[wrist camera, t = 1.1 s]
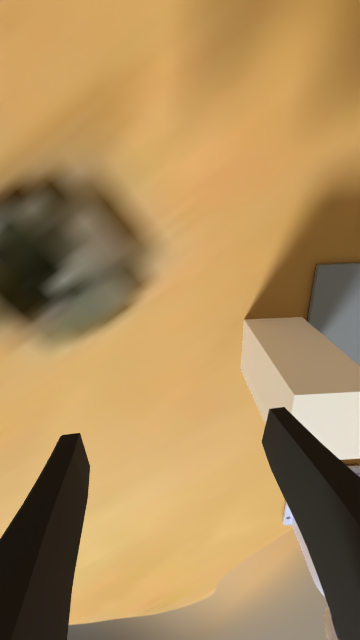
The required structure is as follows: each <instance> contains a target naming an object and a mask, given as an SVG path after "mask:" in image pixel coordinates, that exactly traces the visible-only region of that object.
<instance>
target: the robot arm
mask: <svg viewBox="0 0 360 640" xmlns="http://www.w3.org/2000/svg"><path fill="white" fill-rule="evenodd" d="M262 444H263V447H264V450H265V453H266V456H267V459H268V462H269V465H270V467H271V470H272V472H273V474H274V477H275V479H276V481H277V483H278V485H279V487H280V490H281V492H282V494H283V496H284V498H285V500H286V504H285V510H284V515H283V524H284V525H292V527H293V529H294V532H295V535H296V537H297V540H298V542H299V545H300V547H301V550H302V553H303V555H304V558H305V560H306V563H307V565H308V568H309V571H310V573H311V576H312V578H313V580H314V582H315V584H316V586H317V587H318V589H319V590H320V592H321V593H322V594H323V596H324V597H325V598H326V601H327V603H328V607H326V609H325V612H324V613H325V617H324V628H325V633H326V636H327V640H360V466H359V465H355V466H346V465H345V464H344V463H343V462H342V461H341V460H340V459H338V458H337V457H336V456H335V455H334V454H333V453H332V452H331V451H330V450H329V449H327V448H326V447H325V446H324V445H323V444H322V443H321V442H320V441H319V440H318V439H317V438H316V437H315V436H314V435H313V434H312V433H310V432H309V431H308V430H307V429H306V428H305V427H304V426H303V425H302V424H301V423H300V422H299V421H298V420H297V419H296V418H295V417H294V416H293V415H292V414H291V413H290V412H289V411H288V410H287V409H286V408H285V407H279V408H272V409H269V412H268V417H267V421H266V426H265V430H264V434H263V439H262ZM89 473H90V465H89V462H88V458H87V455H86V452H85V448H84V445H83V442H82V438H81V435H80V433H76V434H68V435H62V436H61V437H60V438H59V440H58V442H57V444H56V446H55V448H54V450H53V452H52V454H51V456H50V458H49V460H48V461H47V463H46V465H45V467H44V469H43V470H42V472H41V474H40V476H39V478H38V479H37V481H36V483H35V484H34V486H33V488H32V489H31V491H30V493H29V495H28V496H27V498H26V500H25V501H24V503H23V505H22V506H21V508H20V509H19V511H18V512H17V514H16V516H15V517H14V519H13V520H12V522H11V523H10V525H9V526H8V528H7V529H6V531H5V533H4V534H3V536H2V537H1V539H0V640H67V633H68V623H69V613H70V603H71V593H72V586H73V579H74V572H75V567H76V561H77V555H78V550H79V544H80V538H81V533H82V527H83V521H84V516H85V510H86V504H87V498H88V487H89Z"/></svg>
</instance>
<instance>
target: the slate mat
mask: <svg viewBox="0 0 360 640" xmlns="http://www.w3.org/2000/svg"><path fill="white" fill-rule="evenodd" d="M307 322H308V323H310V324H311V325H312V326H313V327H314V328H315V329H317V330H318V331H319V332H320V333H321V334H323V335H324V336H325V337H326V338H327V339H328V340H330V341H331V342H332V343H333V344H334V345H336V346H337V347H338V348H339V349H340V350H341V351H343V352H344V353H345V354H346V355H347V356H348V357H350V358H351V359H352V360H353V361H354V362H356V363H357V364H358V365H359V366H360V263H340V264H317V265H316V271H315V277H314V282H313V288H312V294H311V300H310V306H309V312H308V318H307Z"/></svg>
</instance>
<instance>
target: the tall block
mask: <svg viewBox="0 0 360 640" xmlns="http://www.w3.org/2000/svg"><path fill="white" fill-rule="evenodd" d="M241 371H242V373H243V375H244V378H245V380H246V382H247V384H248V387H249V389H250V391H251V393H252V396H253V398H254V400H255V402H256V404H257V407H258V409H259V411H260V413H261V416H262V418H263V420H264V422H265V424H266V421H267V417H268V412H269V409H272V408H279V407H285V408H286V409H287V410H288V411H289V412H290V413H291V414H292V415H293V416H294V417H295V418H296V419H297V420H298V421H299V422H300V423H301V424H302V425H303V426H304V427H305V428H306V429H307V430H308V431H309V432H310V433H312V434H313V435H314V436H315V437H316V438H317V439H318V440H319V441H320V442H321V443H322V444H323V445H324V446H325V447H326V448H327V449H329V450H330V451H331V452H332V453H333V454H334V455H335V456H336V457H337V458H338V459H340V460H345V459H360V366H359V365H358V364H357V363H356V362H354V361H353V360H352V359H351V358H350V357H348V356H347V355H346V354H345V353H344V352H343V351H341V350H340V349H339V348H338V347H337V346H336V345H334V344H333V343H332V342H331V341H330V340H328V339H327V338H326V337H325V336H324V335H323V334H321V333H320V332H319V331H318V330H317V329H315V328H314V327H313V326H312V325H311V324H310V323H308V322H307V321H306V320H305V319H304V318H303V317H288V318H266V319H245V320H244V328H243V343H242V357H241Z"/></svg>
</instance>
